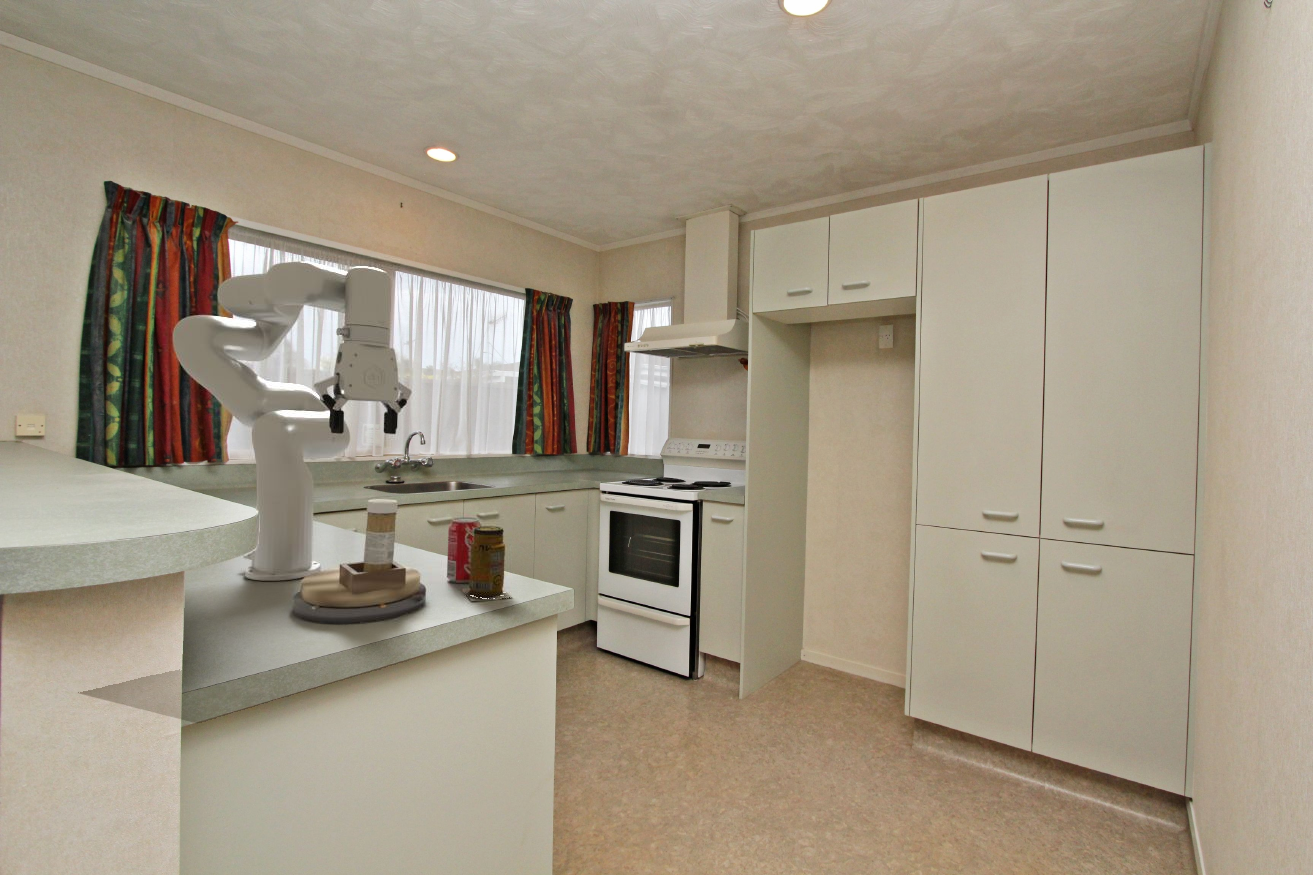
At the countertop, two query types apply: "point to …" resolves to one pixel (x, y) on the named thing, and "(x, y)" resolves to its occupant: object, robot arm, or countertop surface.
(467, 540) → the beverage can
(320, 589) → the dial
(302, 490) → the robot arm
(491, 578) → the condiment
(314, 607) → the dial plate
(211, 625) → the countertop surface
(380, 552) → the sprinkles bottle
